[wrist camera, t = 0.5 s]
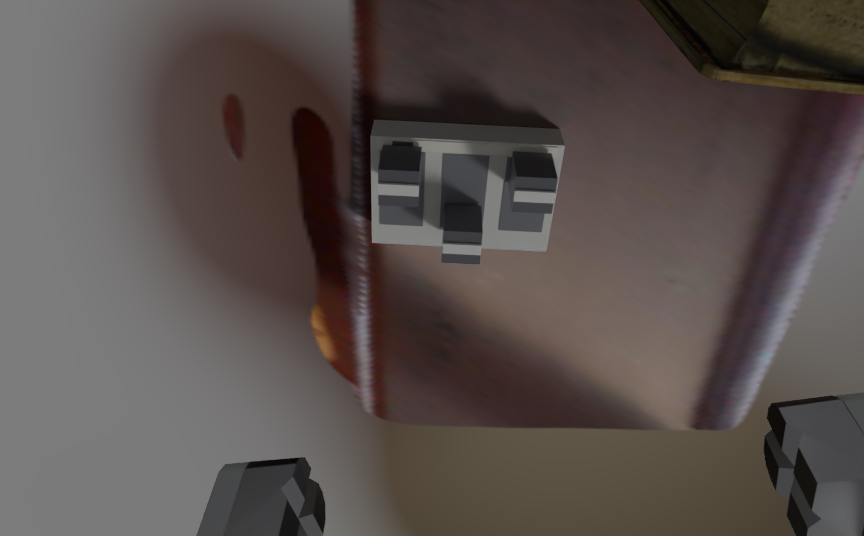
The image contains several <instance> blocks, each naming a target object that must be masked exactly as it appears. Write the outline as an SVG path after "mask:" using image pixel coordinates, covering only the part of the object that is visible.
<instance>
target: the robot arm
mask: <svg viewBox="0 0 864 536" xmlns="http://www.w3.org/2000/svg"><path fill="white" fill-rule="evenodd" d="M767 420H768V422H769V424H770V426H771V428H772V430H771V431H770V432H768V433H767V434H766V435H765V439H764V455H765V462H766V467H767V470H768V473H769V476H770V479H771V481H772V484H773V486H774V488H775V490H776V492H777V493H779V494H780V495H782V496H783V497H784V498H786V499H787V500H788V501H789V503H788V510H787V517H788V520H789V522H790V524H791V526H792V528H793V530H794V532H795V535H796V536H864V393H856V394H849V395H848V394H847V395H838V396H825V397H818V398H809V399H802V400H793V401H785V402H778V403H771V405H770V406H769V408H768V414H767ZM310 471H311V467H310V466H309V464H308V462H307V461H306V459H305V457H304V458H303V457H302V458H289V459H278V460H266V461H254V462H244V463H235V464H225V465H224V467H223V468H222V469H221V470H220V471H219V473H218V476H217V478H216V482H215V484H214V487H213V490H212V493H211V496H210V499H209V502H208V504H207V507H206V510H205V513H204V516H203V519H202V522H201V525H200V527H199V530H198V533H197V536H322V535H323V532H324V526H325V501H324V497H323V492H322V490H321V488H320V486H319V484H318V483H317V482H315V481H313V480H311V479H309V476H310Z"/></svg>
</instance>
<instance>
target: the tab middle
mask: <svg viewBox="0 0 864 536" xmlns="http://www.w3.org/2000/svg"><path fill="white" fill-rule="evenodd" d="M482 235H483V229H482V211H481V206H479V205H460V204H444V219H443V237H442V262H445V263H464V264H480V255H481V247H482Z"/></svg>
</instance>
